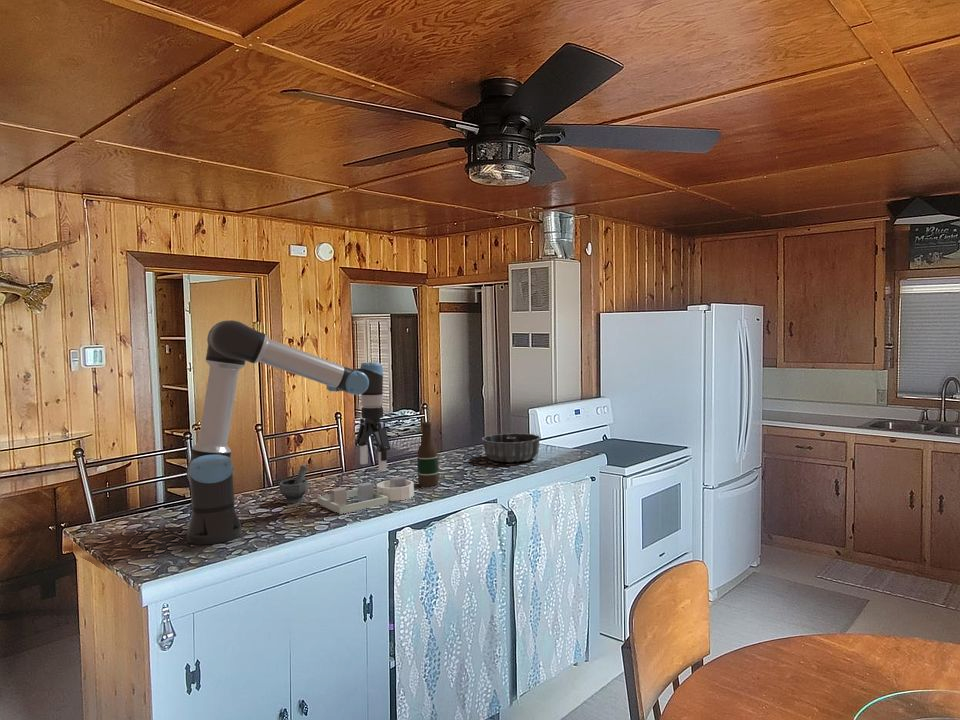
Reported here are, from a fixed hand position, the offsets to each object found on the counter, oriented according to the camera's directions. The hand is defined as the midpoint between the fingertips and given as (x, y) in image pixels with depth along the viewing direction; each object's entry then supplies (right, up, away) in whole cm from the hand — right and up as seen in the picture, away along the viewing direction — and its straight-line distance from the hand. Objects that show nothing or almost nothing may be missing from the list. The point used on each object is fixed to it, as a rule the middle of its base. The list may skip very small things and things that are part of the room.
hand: (373, 466), depth 229 cm
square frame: (-7, -12, -3) cm, 14 cm away
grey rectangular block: (+8, -11, +4) cm, 14 cm away
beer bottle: (+18, -10, +21) cm, 29 cm away
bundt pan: (+52, -7, +63) cm, 82 cm away
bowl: (+7, -11, +5) cm, 14 cm away
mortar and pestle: (-28, -13, +3) cm, 31 cm away
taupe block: (-11, -13, -7) cm, 18 cm away
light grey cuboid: (-2, -12, 0) cm, 12 cm away
